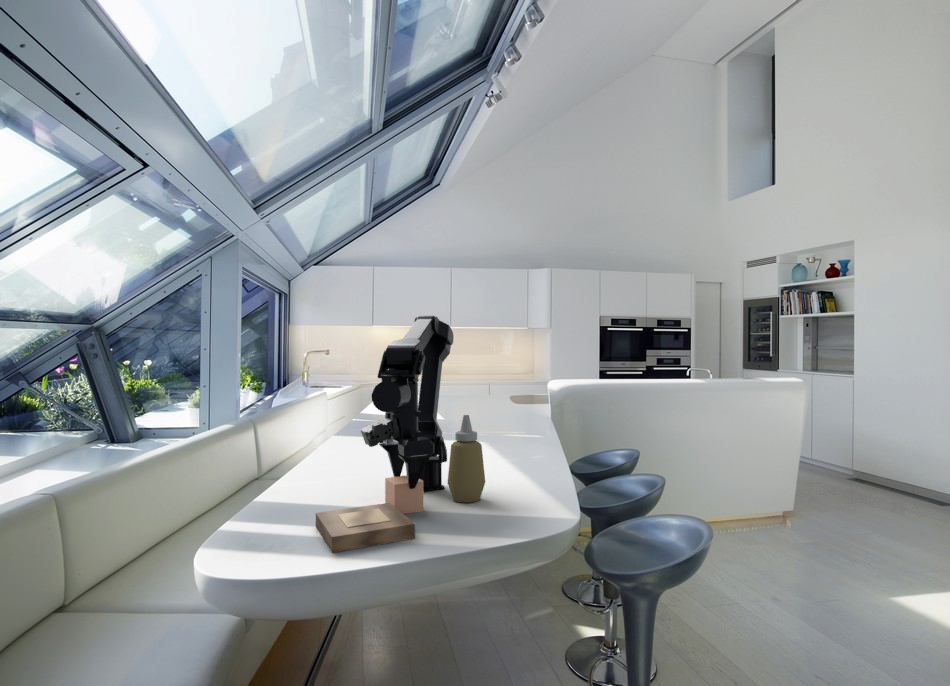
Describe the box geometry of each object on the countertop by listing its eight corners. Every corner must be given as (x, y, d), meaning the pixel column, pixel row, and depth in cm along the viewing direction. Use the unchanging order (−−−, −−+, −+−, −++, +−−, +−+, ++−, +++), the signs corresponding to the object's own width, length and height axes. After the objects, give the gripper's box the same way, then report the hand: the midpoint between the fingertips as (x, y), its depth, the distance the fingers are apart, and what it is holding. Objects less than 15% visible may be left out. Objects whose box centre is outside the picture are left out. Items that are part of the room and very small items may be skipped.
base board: (389, 515, 106) (389, 501, 106) (414, 538, 93) (414, 522, 93) (315, 526, 100) (315, 512, 100) (332, 552, 87) (332, 536, 87)
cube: (413, 503, 114) (412, 474, 114) (423, 511, 109) (423, 481, 109) (385, 507, 112) (385, 477, 112) (394, 515, 106) (394, 484, 106)
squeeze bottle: (490, 496, 119) (489, 413, 119) (478, 506, 111) (478, 418, 112) (455, 493, 122) (455, 412, 122) (441, 503, 114) (441, 416, 114)
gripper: (352, 403, 115) (353, 477, 115) (378, 413, 98) (378, 500, 99) (403, 400, 120) (403, 471, 120) (435, 410, 103) (436, 492, 104)
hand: (404, 483), depth 110 cm, fingers open, 9 cm apart
